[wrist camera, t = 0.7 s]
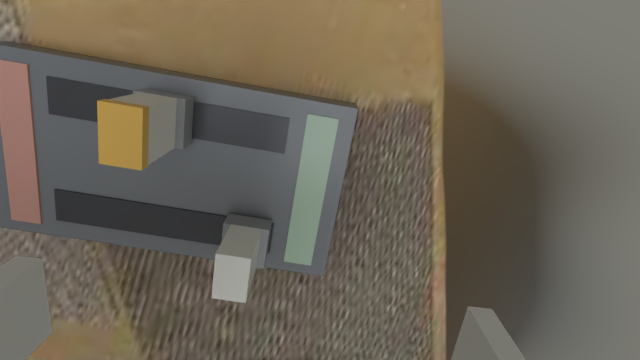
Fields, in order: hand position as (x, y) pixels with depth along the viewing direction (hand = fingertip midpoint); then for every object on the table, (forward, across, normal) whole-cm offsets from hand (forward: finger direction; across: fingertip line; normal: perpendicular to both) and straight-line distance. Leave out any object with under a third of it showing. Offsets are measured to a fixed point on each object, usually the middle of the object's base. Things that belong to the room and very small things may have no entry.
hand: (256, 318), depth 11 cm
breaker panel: (+21, -10, -2) cm, 24 cm away
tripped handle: (+18, -10, +2) cm, 21 cm away
